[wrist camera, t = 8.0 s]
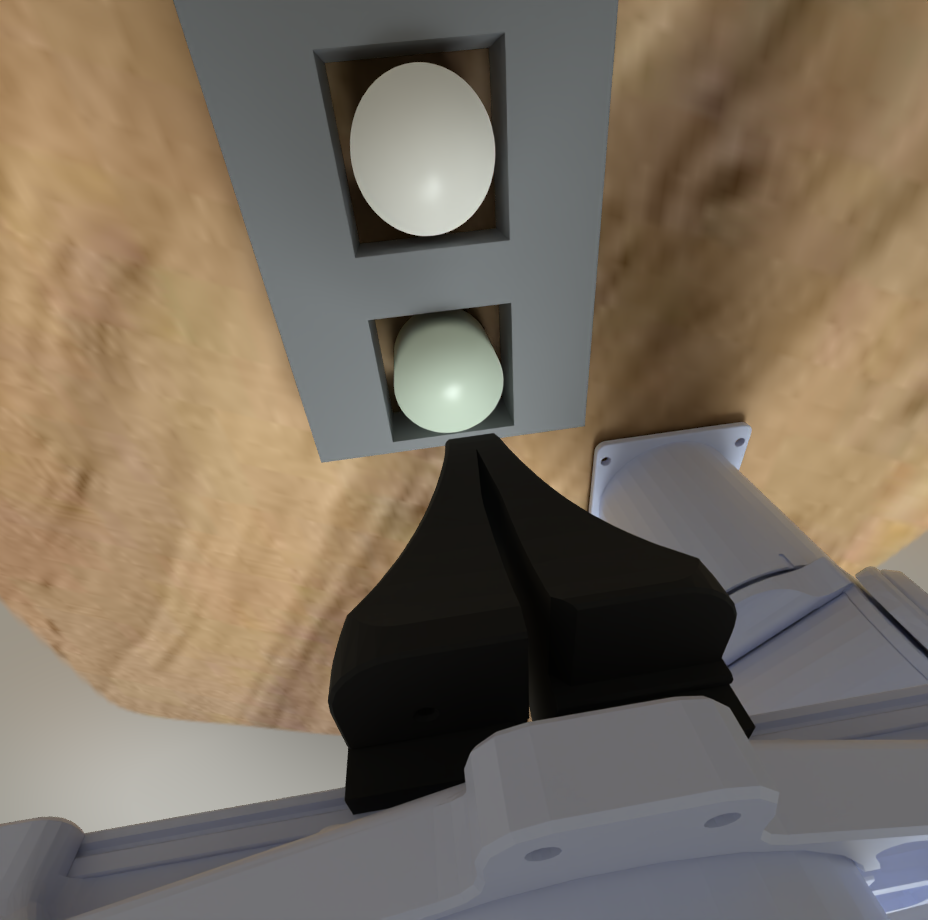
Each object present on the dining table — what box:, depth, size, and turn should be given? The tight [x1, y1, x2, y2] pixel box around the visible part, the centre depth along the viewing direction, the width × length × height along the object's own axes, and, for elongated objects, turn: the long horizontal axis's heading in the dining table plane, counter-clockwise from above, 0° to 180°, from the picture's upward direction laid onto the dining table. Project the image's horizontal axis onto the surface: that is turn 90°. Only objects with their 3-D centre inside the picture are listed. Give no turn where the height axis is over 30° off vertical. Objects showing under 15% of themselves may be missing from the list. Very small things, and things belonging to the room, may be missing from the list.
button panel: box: [173, 0, 618, 463], centre depth 14 cm, size 20×11×2 cm, turn 5°
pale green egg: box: [394, 309, 504, 433], centre depth 18 cm, size 4×4×3 cm
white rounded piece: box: [350, 62, 495, 236], centre depth 14 cm, size 4×4×3 cm
